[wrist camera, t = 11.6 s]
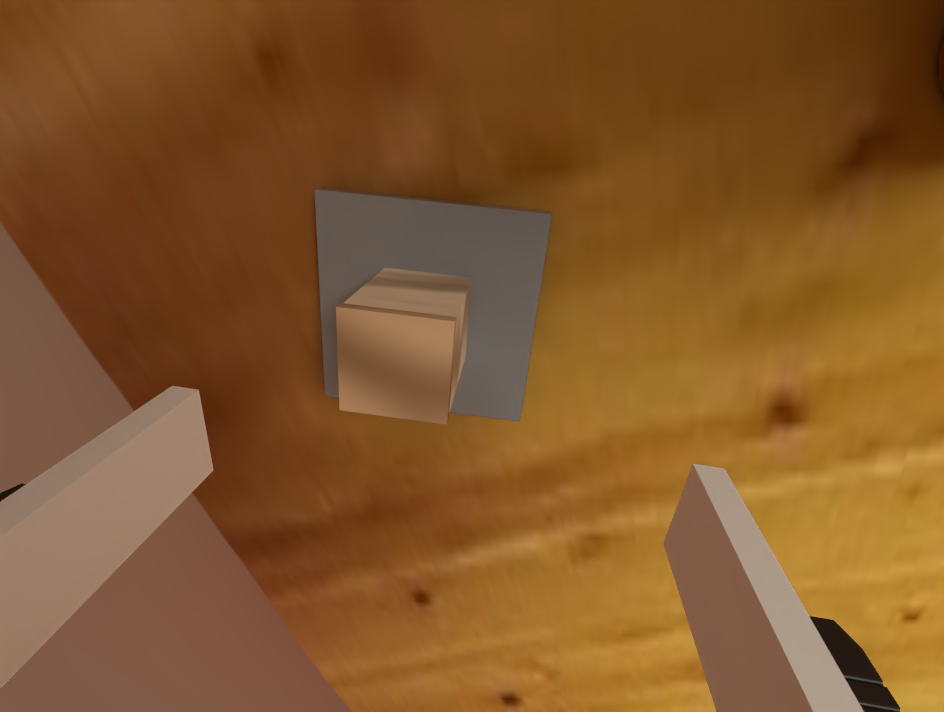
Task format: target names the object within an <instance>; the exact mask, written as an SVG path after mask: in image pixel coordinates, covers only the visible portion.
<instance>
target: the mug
mask: <svg viewBox="0 0 944 712" xmlns="http://www.w3.org/2000/svg"><path fill="white" fill-rule="evenodd" d="M938 74H939V81H940V85H941V88H942V91H943V93H944V38H943V41H942V45H941V49H940V53H939V60H938Z"/></svg>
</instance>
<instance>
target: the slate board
mask: <svg viewBox="0 0 944 712" xmlns="http://www.w3.org/2000/svg"><path fill="white" fill-rule="evenodd" d="M315 209H316V229H317V249H318V269H319V288H320V308H321V328H322V348H323V368H324V388H325V396H331V397H339V380H338V351H337V322H336V306H338V305H339V304H340V303H344V302H345V301H346V300H347V299H348V298H350V297H351V296H352V295H353V294H354V293H356V292H357V291H358V290H359V289H360V288H361V287H363V286H364V285H365V284H366V283H367V282H369V281H370V280H371V279H372V278H373V277H374V276H376V275H377V274H378V273H379V272H380V271H382V270H383V269H384V268H392V269H401V270H410V271H418V272H427V273H436V274H444V275H453V276H461V277H470V278H472V289H471V300H470V311H469V322H468V333H467V344H466V355H465V361H464V364H463V368H462V371H461V374H460V378H459V381H458V385H457V388H456V391H455V395H454V398H453V402H452V405H451V408H450V412H452V413H459V414H467V415H474V416H482V417H489V418H497V419H504V420H512V421H519V422H520V419H521V412H522V406H523V399H524V393H525V386H526V380H527V373H528V367H529V360H530V354H531V347H532V341H533V334H534V328H535V321H536V315H537V308H538V302H539V295H540V289H541V282H542V276H543V269H544V263H545V256H546V249H547V243H548V236H549V230H550V223H551V217H552V213H551V211H545V210H535V209H525V208H516V207H506V206H497V205H487V204H478V203H468V202H458V201H449V200H439V199H430V198H420V197H411V196H401V195H392V194H382V193H372V192H363V191H353V190H344V189H334V188H325V187H324V188H318V189H315Z"/></svg>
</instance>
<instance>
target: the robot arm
mask: <svg viewBox="0 0 944 712" xmlns="http://www.w3.org/2000/svg"><path fill="white" fill-rule="evenodd" d="M212 471H213V464H212V459H211V454H210V448H209V443H208V437H207V432H206V426H205V421H204V415H203V410H202V405H201V399H200V394H199V390H197V389H191V388H184V387H177V386H171V387H170V388H168V389H167V390H165V391H164V392H162V393H161V394H159V395H158V396H156V397H155V398H153V399H152V400H150V401H149V402H147V403H146V404H144V405H143V406H141V407H140V408H138V409H137V410H135V411H134V412H133V413H131V414H130V415H128V416H127V417H125V418H124V419H122V420H121V421H119V422H118V423H116V424H115V425H113V426H112V427H111V428H109V429H107V430H106V431H104V432H103V433H102V434H100V435H99V436H97V437H95V438H94V439H93V440H91V441H90V442H88V443H87V444H85V445H84V446H82V447H81V448H79V449H78V450H76V451H75V452H73V453H72V454H70V455H69V456H67V457H66V458H64V459H63V460H61V461H60V462H58V463H57V464H56V465H54V466H53V467H51V468H50V469H48V470H47V471H45V472H44V473H42V474H41V475H39V476H38V477H37V478H35V479H33V480H32V481H30V482H29V483H27V484H20V485H17V486H15V487H13V488H11V489H9V490H6V491H4V492H2V493H0V688H1V687H2V686H3V685H4V684H5V683H6V682H7V681H8V680H9V679H10V678H11V677H12V676H13V675H14V674H15V673H16V672H17V671H18V670H19V669H20V668H21V666H23V665H24V664H25V663H26V662H27V661H28V660H29V659H30V658H31V657H32V655H34V653H35V652H36V651H37V650H38V649H39V648H40V647H41V646H42V645H43V644H44V643H45V642H46V641H47V640H48V639H49V638H50V637H51V636H52V635H53V634H54V633H55V632H56V631H57V630H58V629H59V628H60V627H61V626H62V625H63V624H64V623H65V622H66V621H67V620H68V619H69V618H70V617H71V616H72V615H73V614H74V613H75V611H77V610H78V608H79V607H80V606H81V605H82V604H83V603H84V602H85V601H86V600H87V599H88V598H89V597H90V596H91V595H92V594H93V593H94V592H95V591H96V590H97V589H98V588H99V587H100V586H101V585H102V584H103V583H104V582H105V581H106V580H107V579H108V578H109V577H110V576H111V575H112V574H113V573H114V572H115V571H116V569H117V568H119V567H120V565H121V564H122V563H123V562H124V561H125V560H126V559H127V558H128V557H129V556H130V555H131V554H132V553H133V552H134V551H135V550H136V549H137V548H138V547H139V546H140V545H141V544H142V543H143V542H144V541H145V540H146V539H147V538H148V537H149V536H150V535H151V534H152V533H153V532H154V531H155V530H156V529H157V528H158V527H159V526H160V524H162V522H163V521H164V520H165V519H166V518H167V517H168V516H169V515H170V514H171V513H172V512H173V511H174V510H175V509H176V508H177V507H178V506H179V505H180V504H181V503H182V502H183V501H184V500H185V499H186V498H187V497H188V496H189V495H190V494H191V493H192V492H193V491H194V490H195V489H196V488H197V487H198V486H199V485H200V484H201V483H202V482H203V481H204V480H205V478H206V477H207V476H208V475H209V474H210V473H211V472H212ZM664 547H665V550H666V553H667V556H668V559H669V562H670V566H671V569H672V572H673V575H674V578H675V581H676V585H677V588H678V591H679V594H680V597H681V600H682V603H683V607H684V610H685V613H686V616H687V619H688V622H689V626H690V629H691V632H692V635H693V638H694V641H695V645H696V648H697V651H698V654H699V657H700V660H701V664H702V667H703V670H704V673H705V676H706V679H707V683H708V686H709V689H710V692H711V695H712V698H713V702H714V705H715V708H716V711H717V712H900V707H899V706H898V704H897V702H896V701H895V699H894V698H893V696H892V695H891V693H890V692H889V690H888V688H887V687H884V686H883V684H882V682H883V681H882V679H881V678H880V676H879V674H878V673H877V671H876V670H875V668H874V667H873V665H872V663H871V662H870V660H869V659H868V657H867V656H866V654H865V653H864V651H863V649H862V648H861V647H860V646H859V645H858V644H857V643H856V642H855V641H854V640H853V639H852V638H851V637H850V636H849V635H848V634H847V633H846V632H845V631H844V630H843V629H842V628H841V627H840V626H839V625H838V624H837V623H836V622H835V621H834V620H829V619H824V618H818V617H812V616H809V615H808V613H807V612H806V610H805V608H804V606H803V605H802V603H801V601H800V599H799V598H798V596H797V594H796V592H795V591H794V589H793V587H792V585H791V584H790V582H789V580H788V578H787V577H786V575H785V573H784V571H783V570H782V568H781V566H780V564H779V563H778V561H777V559H776V557H775V556H774V554H773V552H772V551H771V549H770V547H769V545H768V544H767V542H766V540H765V538H764V537H763V535H762V533H761V531H760V530H759V528H758V526H757V524H756V523H755V521H754V519H753V517H752V516H751V514H750V512H749V510H748V509H747V507H746V505H745V503H744V502H743V500H742V498H741V496H740V495H739V493H738V491H737V490H736V488H735V486H734V484H733V483H732V481H731V479H730V477H729V476H728V474H727V472H726V470H725V469H724V468H718V467H712V466H705V465H698V464H693V465H692V468H691V471H690V473H689V476H688V479H687V481H686V484H685V487H684V490H683V492H682V495H681V498H680V500H679V503H678V506H677V508H676V511H675V514H674V517H673V519H672V522H671V525H670V527H669V530H668V533H667V535H666V538H665V541H664Z"/></svg>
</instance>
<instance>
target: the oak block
mask: <svg viewBox="0 0 944 712" xmlns="http://www.w3.org/2000/svg"><path fill="white" fill-rule="evenodd" d="M471 289H472V278H470V277H461V276H453V275H444V274H436V273H427V272H418V271H410V270H401V269H392V268H384V269H383V270H382V271H380V272H379V273H378V274H377V275H376V276H374V277H373V278H372V279H371V280H370V281H369V282H367V283H366V284H365V285H364V286H363V287H361V288H360V289H359V290H358V291H357V292H356V293H354V294H353V295H352V296H351V297H350V298H348V299H347V300H346V301H345V302H344V303H340V304H339V305H338V306H336V322H337V351H338V380H339V409H340V410H342V411H349V412H357V413H364V414H371V415H379V416H386V417H393V418H401V419H408V420H415V421H423V422H430V423H438V424H445V425H447V423H448V419H449V412H450V408H451V405H452V402H453V398H454V395H455V391H456V388H457V385H458V381H459V378H460V374H461V371H462V368H463V364H464V361H465V355H466V344H467V333H468V322H469V311H470V300H471Z"/></svg>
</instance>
